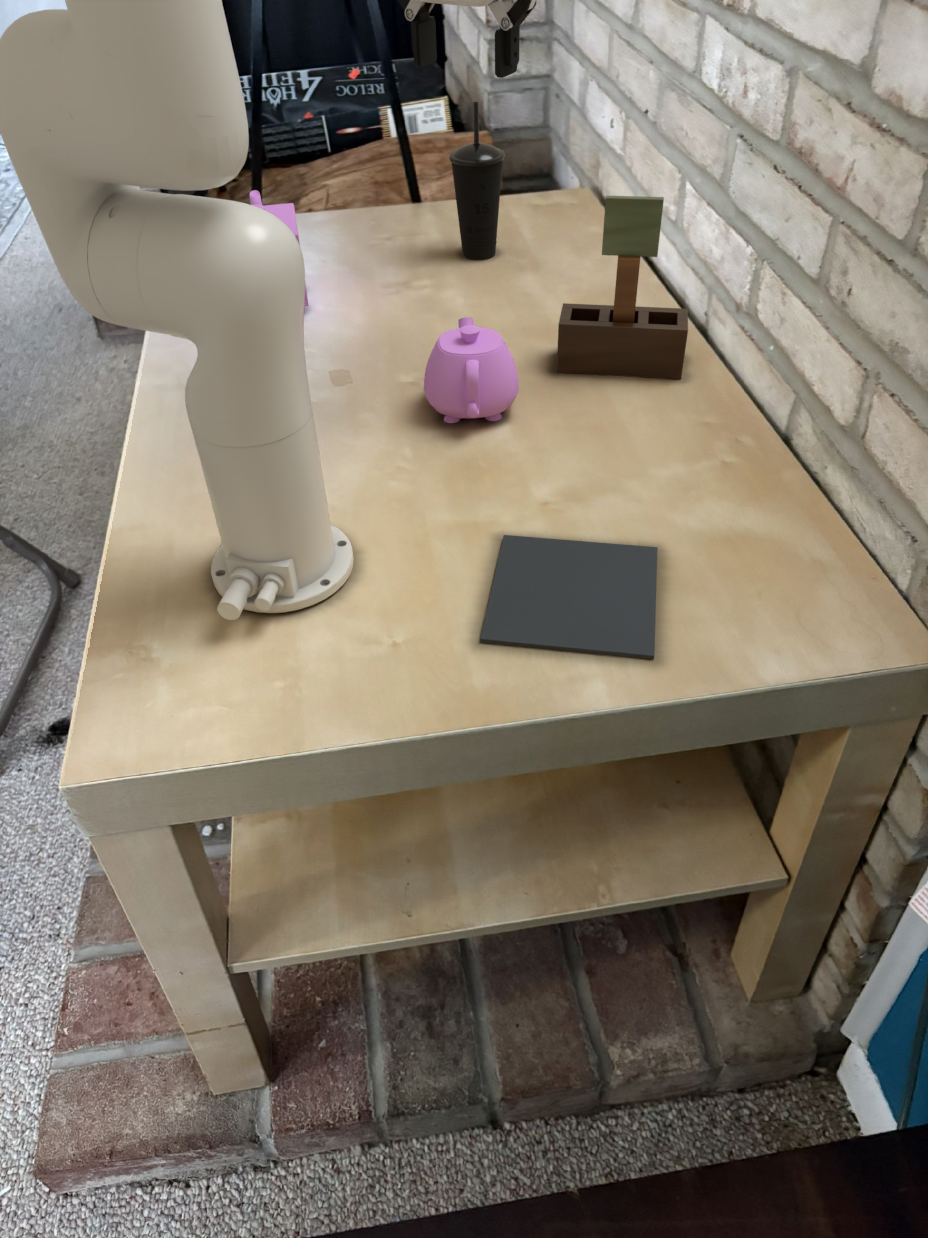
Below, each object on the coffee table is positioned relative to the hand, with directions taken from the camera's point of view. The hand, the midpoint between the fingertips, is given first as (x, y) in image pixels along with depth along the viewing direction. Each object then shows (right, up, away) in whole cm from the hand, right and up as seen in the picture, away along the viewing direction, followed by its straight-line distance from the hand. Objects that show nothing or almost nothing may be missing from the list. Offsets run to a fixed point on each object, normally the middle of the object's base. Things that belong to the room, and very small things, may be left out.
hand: (465, 69), depth 93 cm
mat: (+9, -53, -13) cm, 56 cm away
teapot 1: (-27, -12, +33) cm, 44 cm away
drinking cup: (+2, -2, +43) cm, 43 cm away
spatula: (+18, -25, +16) cm, 35 cm away
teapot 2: (+1, -31, +11) cm, 33 cm away
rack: (+18, -25, +16) cm, 35 cm away
